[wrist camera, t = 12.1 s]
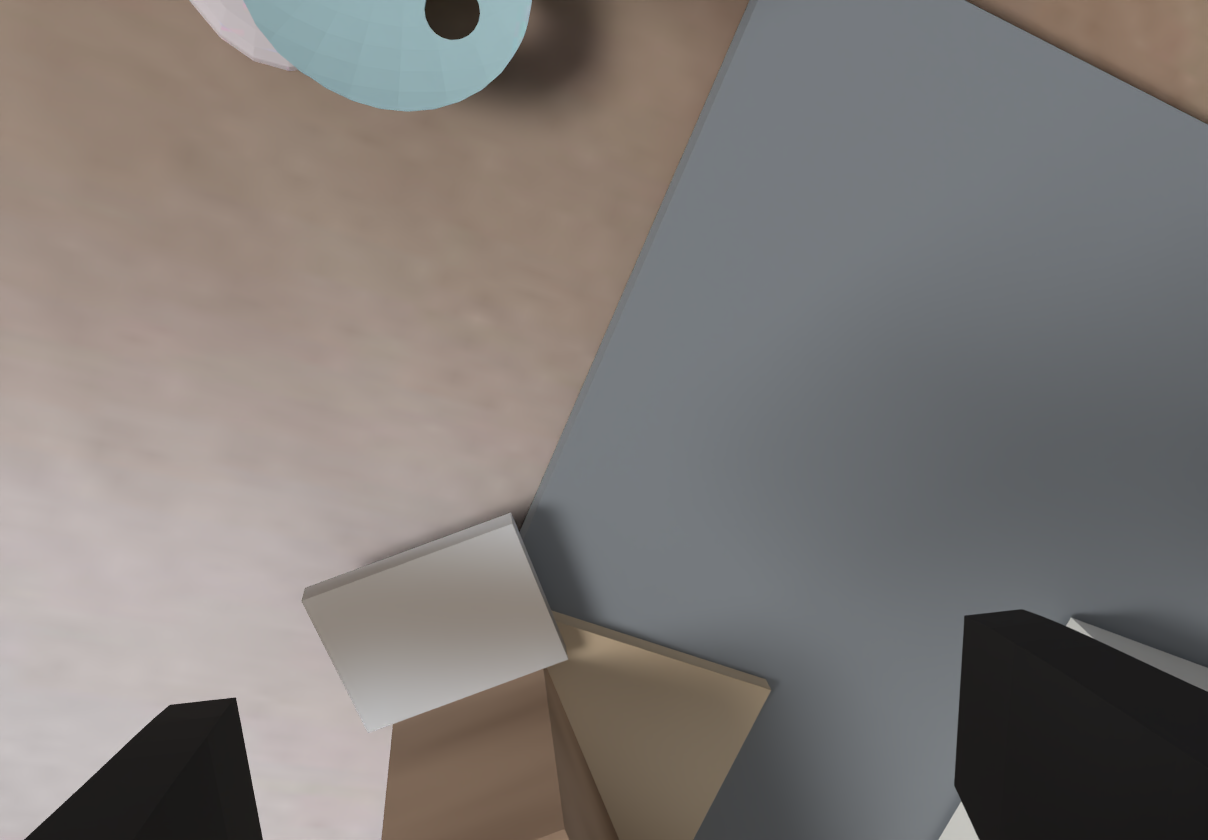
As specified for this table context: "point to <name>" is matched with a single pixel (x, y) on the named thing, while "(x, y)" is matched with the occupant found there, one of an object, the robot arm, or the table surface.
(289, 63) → the pacifier
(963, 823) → the tile
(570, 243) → the table surface
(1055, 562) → the mat
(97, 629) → the table surface
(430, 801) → the brown rectangular block
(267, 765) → the table surface
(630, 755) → the pad
